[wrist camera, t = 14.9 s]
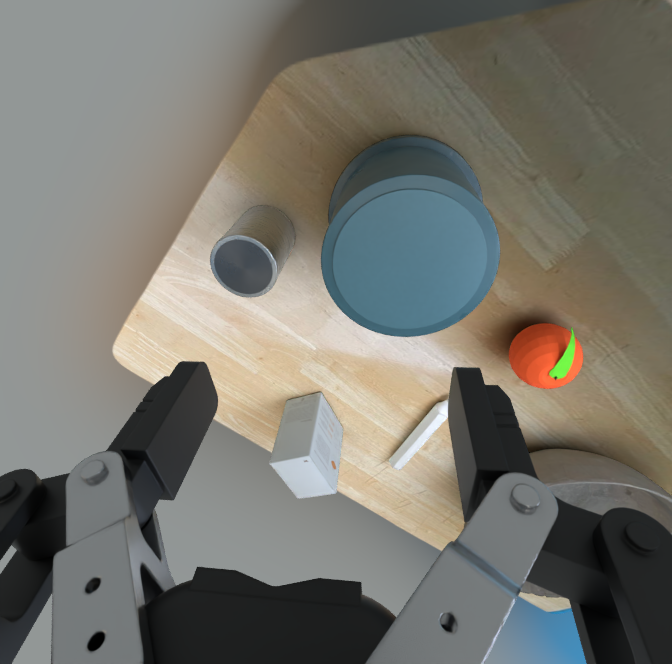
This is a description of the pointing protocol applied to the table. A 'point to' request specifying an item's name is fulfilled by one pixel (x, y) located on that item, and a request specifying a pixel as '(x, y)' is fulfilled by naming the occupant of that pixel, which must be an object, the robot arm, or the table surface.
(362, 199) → the blue flanged cylinder
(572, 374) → the clementine
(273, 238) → the cup
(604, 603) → the robot arm
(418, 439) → the white pencil
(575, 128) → the table surface
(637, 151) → the table surface
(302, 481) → the small box
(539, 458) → the bowl
